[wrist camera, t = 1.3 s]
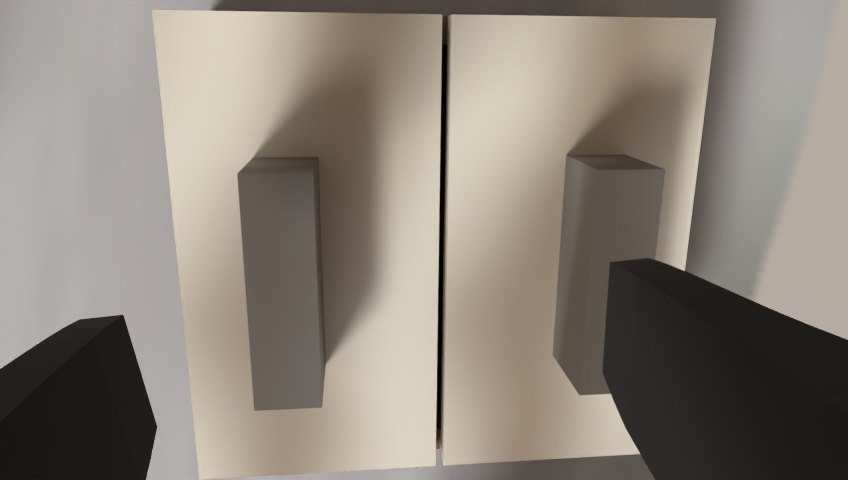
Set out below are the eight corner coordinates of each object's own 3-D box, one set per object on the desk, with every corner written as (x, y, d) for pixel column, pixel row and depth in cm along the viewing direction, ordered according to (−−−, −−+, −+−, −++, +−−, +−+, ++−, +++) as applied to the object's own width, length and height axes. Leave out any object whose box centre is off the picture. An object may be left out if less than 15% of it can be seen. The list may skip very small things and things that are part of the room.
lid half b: (702, 19, 15) (773, 12, 12) (652, 439, 18) (700, 501, 15) (447, 16, 14) (468, 7, 12) (440, 451, 17) (455, 518, 15)
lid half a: (439, 16, 14) (457, 7, 12) (433, 452, 17) (446, 519, 15) (160, 11, 14) (117, 2, 11) (204, 464, 17) (178, 536, 14)
